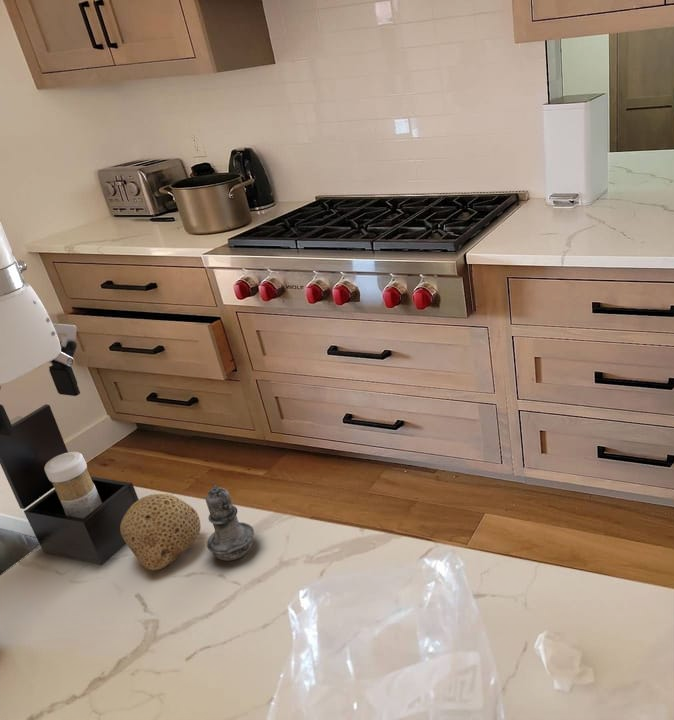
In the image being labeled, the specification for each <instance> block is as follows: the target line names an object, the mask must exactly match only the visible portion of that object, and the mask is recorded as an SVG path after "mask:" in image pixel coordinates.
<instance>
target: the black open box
mask: <svg viewBox="0 0 674 720" xmlns="http://www.w3.org/2000/svg"><path fill="white" fill-rule="evenodd" d="M90 477H91V479H92V482H93V483H94V485H95V487H96V489H97V492H98V494H99V497H100V499H101V501H102V504H101V505H100V506H98V507H97V508H96V509H95V510H93V511H92V512H91V513H90V514H88V515H87V516H86V517H85V518H79V517H73V516H68V515H66V514H65V512H64V509H63V506H62V504H61V502H60V500H59V498H58V495H57V492H56V490H55V488H53V489H51V490H50V491H49V492H47V493H46V494H45V495H43V496H42V497H40V498H39V499H38V500H36V501H35V502H34V503H32V504H31V505H29V506H28V507H27V508H25V509H24V511H23V513H24V515H25V517H26V519H27V521H28V523H29V526H30V527H31V529H32V532H33V534H34V536H35V538H36V540H37V542H38V543H39V546H40V547H41V549H42V552H43V554H47V555H52V556H55V557H56V556H57V557H61V558H65V559H70V560H74V561H75V560H76V561H79V562H85V563H89V564H94V565H99V566H103V565H105V564H106V563H107V562H108V561H109V560H110V559H112V557H113V556H115V555H116V554H117V553H118V552H119V551H120V550H122V548H123V547H124V546H126V545H127V544H126V542H125V541H124V539H123V537H122V535H121V531H120V525H121V522H122V519H123V517H124V515H125V514H126V512H127V511H128V509H129V508H130V507H131V506H132V505H133V504H134V503H135V502H136V501H138V500H140V498H139V497H138V494H137V491H136V490H135V487H134V484H133V482H129V481H122V480H116V479H109V478H103V477H96V476H90Z"/></svg>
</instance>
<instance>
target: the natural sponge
mask: <svg viewBox="0 0 674 720" xmlns="http://www.w3.org/2000/svg"><path fill="white" fill-rule="evenodd" d="M200 530H201V520H200V516H199V514H198V512H197V510H196V509H195V508H194V507H192V506H191V505H190V504H188V503H187V502H185V501H184V500H182V499H180V498H179V497H176V496H174V495H172V494H168V493H155V494H149V495H146V496H143V497H142V498H139V500H138V501H136V502H135V503H134V504H133V505H132V506H131V507H130V508H129V509H128V511H127V512H126V514H125V515H124V517H123V519H122V522H121V525H120V531H121V535H122V537H123V539H124V541H125V542H126V544H125V545H127V547H128V549H130V551H131V552H132V553H133V555H134V556H135V558H136V559H137V561H138V562H139V563H140V564H141V566H143V567H144V568H146V569H148V570H150V571H157V570H161V569H163V568H165V567H168V566H169V565H170V564H172V563H173V562H175V560H177V559H178V558H179V556H180V555H181V554H182V553H184V552H185V551H187V550H188V549H190V548H191V547H192V546H193V545H194V544H195V543H196V541H197V539H198V537H199V535H200Z"/></svg>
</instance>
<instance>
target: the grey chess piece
mask: <svg viewBox="0 0 674 720" xmlns="http://www.w3.org/2000/svg"><path fill="white" fill-rule="evenodd" d="M205 502H206V505H207V508H208V511H209V514H208V522H209V523H211V524H212V526H213V529H214V532H213V533H211V535H210V536H209V537H208V539H207V541H206V547H207V550H208V551H209V552H211V553H212V554H213V555H214V556H215V557H216V558H217V559H219V560H222V561H236V560H238V559H240V558H242V557H244V556H245V555H246V554H247V553H248V552H249V551H250V549H251V548H252V545H253V540H254V534H255V529H254V527H253V526H252V525H250V524H249V523H246V522H239V519H238V516H237V514H238V508H237V507H236V505H233V501H232V498H231V495H230V492H229V491H228V490H227V489H226V488H224V487H218V486H217V485H216V484H212V486H211V490H209V491H208V492H207V494H206V496H205Z"/></svg>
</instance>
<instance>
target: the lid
mask: <svg viewBox="0 0 674 720" xmlns="http://www.w3.org/2000/svg"><path fill="white" fill-rule="evenodd" d="M9 420H10V423H11V425H12V427H13V429H14V432H13V434H11V435H9V436H6V435H0V467H1V469H2V471H3V474H4V475H5V478H6V480H7V482H8V484H9V487H10V489H11V491H12V494H13V495H14V498H15V500H16V502H17V504H18V506H19V509H21V510H26V509H28V508H29V507H30V506H32V505H33V504H34V503H36V502H37V501H39V500H40V499H41V498H43V497H44V496H45V495H47V494H48V493H50V492H51V491H52V490H54V489H55V488H54V486H53V484H52V482H51V481H50V480H49V479H48V477H47V475H46V472H45V470H44V467H45V465H46V463H47V462H48V461H50V460H51V459H53V458H54V457H56V456H58V455H61V454H64V453H68V452H69V451H68V448H67V446H66V444H65V440H64V438H63V435H62V433H61V431H60V428H59V425H58V422H57V420H56V417H55V416H54V413H53V411H52V407H51V405H50V404H48V403H46V404H44V405H42V406H40V407H39V408H37V409H35V410H34V411H32V412H30V413H28V414H27V415H25V416H24V417H23V416H21V415H17V416H15V417H13V418H11V419H9Z"/></svg>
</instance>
